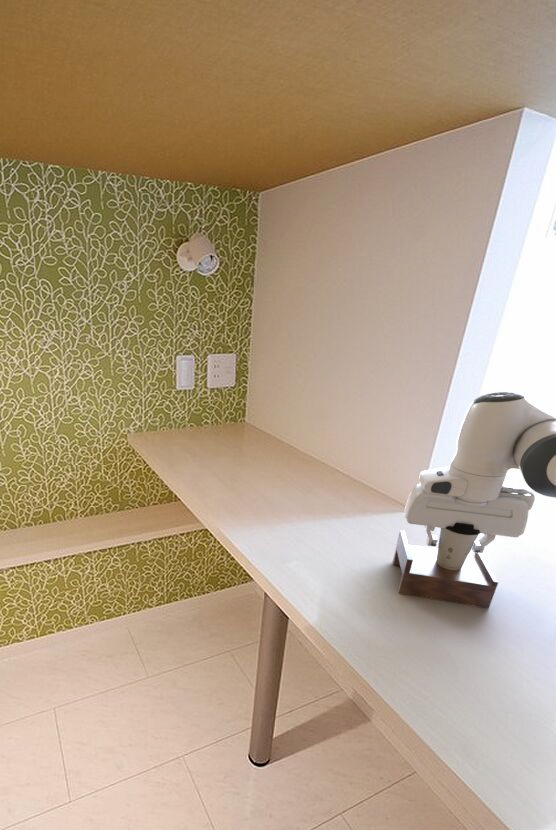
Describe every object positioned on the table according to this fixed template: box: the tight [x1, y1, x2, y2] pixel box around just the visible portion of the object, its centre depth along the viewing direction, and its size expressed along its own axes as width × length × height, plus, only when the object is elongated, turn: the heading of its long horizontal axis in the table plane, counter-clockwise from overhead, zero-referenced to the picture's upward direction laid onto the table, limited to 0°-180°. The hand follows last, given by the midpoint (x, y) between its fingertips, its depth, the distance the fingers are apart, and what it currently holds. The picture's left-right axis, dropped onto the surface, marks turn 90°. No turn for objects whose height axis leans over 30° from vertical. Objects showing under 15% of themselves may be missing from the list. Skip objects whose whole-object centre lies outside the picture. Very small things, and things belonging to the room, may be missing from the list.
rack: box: [392, 530, 499, 609], centre depth 88 cm, size 16×12×8 cm
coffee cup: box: [436, 523, 481, 570], centre depth 85 cm, size 7×7×10 cm
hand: (453, 547), depth 85 cm, fingers closed on coffee cup, 7 cm apart
